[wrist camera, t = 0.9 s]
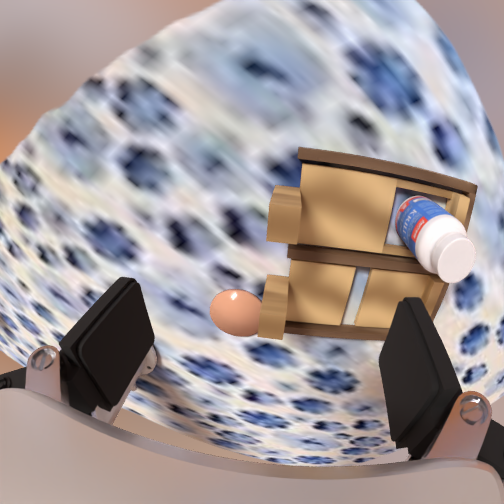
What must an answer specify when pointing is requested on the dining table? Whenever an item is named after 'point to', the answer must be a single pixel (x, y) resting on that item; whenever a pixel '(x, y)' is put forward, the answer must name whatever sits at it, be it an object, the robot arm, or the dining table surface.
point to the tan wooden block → (305, 296)
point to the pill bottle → (435, 238)
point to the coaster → (236, 312)
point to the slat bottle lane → (345, 209)
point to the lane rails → (377, 261)
